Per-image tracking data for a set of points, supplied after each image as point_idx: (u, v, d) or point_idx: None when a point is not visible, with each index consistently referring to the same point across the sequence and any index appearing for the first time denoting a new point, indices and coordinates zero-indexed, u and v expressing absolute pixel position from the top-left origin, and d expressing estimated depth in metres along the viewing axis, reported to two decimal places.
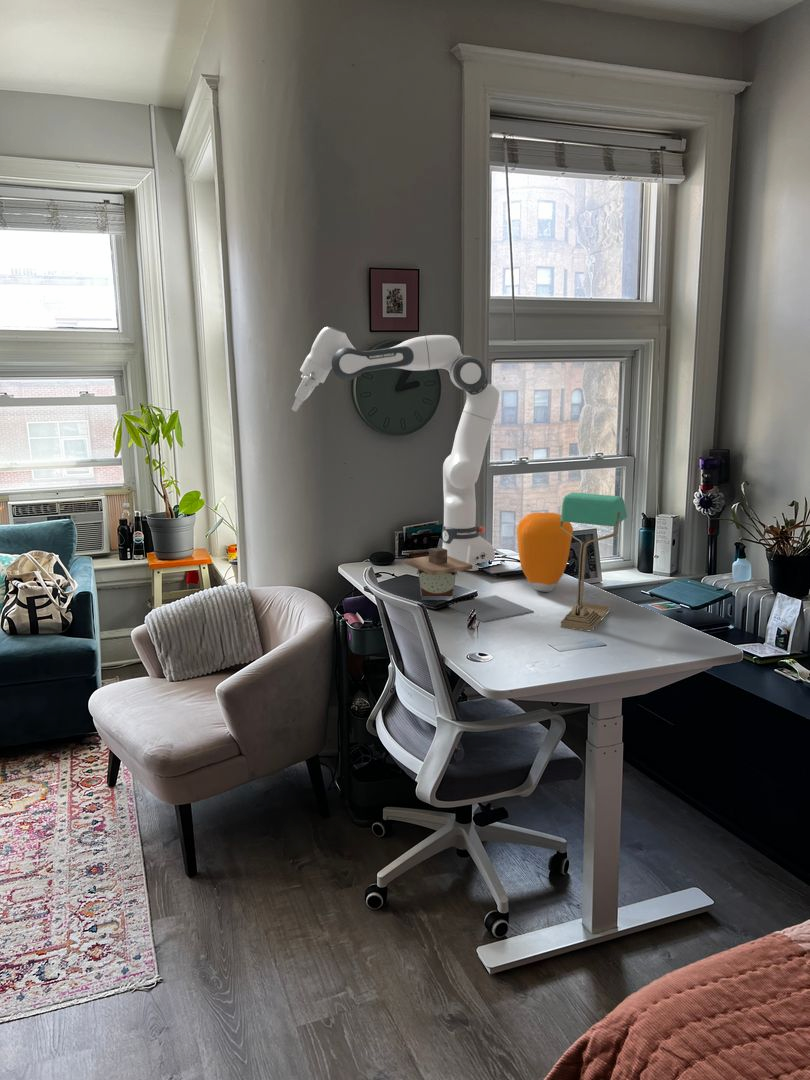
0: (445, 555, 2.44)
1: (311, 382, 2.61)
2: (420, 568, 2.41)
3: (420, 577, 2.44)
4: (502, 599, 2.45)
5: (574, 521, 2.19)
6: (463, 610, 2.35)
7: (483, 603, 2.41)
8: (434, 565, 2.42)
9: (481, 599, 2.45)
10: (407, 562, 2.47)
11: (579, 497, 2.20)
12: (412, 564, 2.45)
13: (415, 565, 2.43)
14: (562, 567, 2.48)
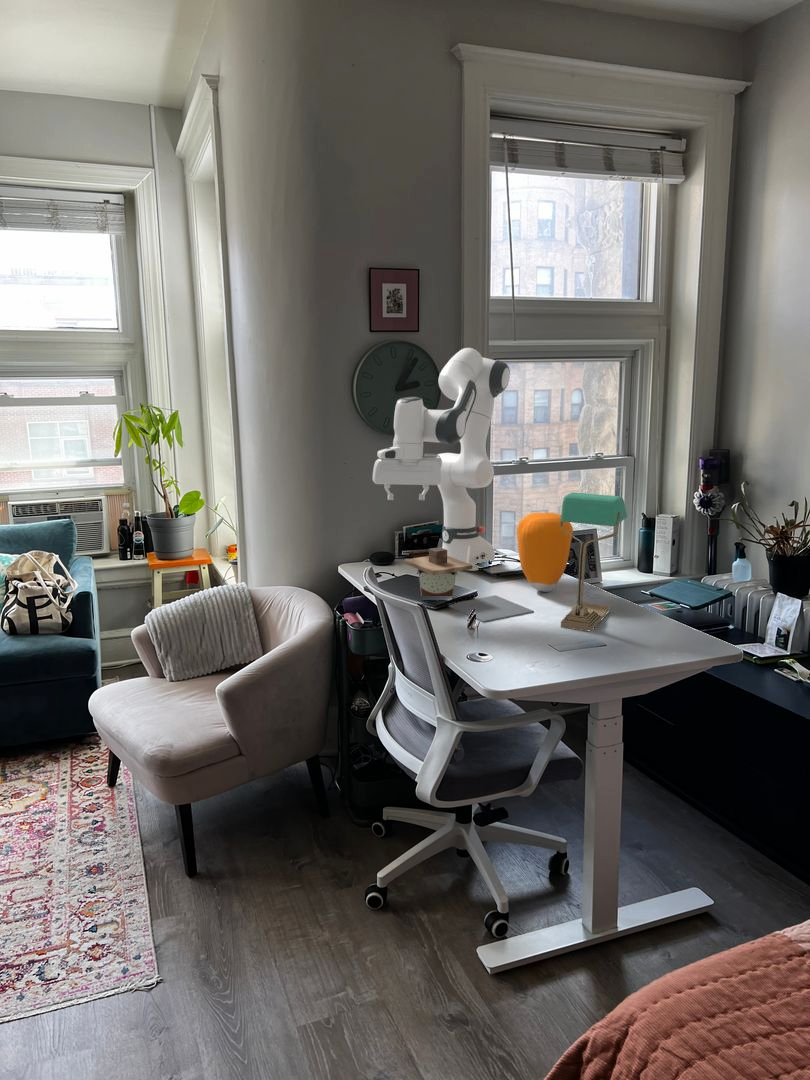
0: (445, 555, 2.44)
1: None
2: (420, 568, 2.41)
3: (420, 577, 2.44)
4: (502, 599, 2.45)
5: (574, 521, 2.19)
6: (463, 610, 2.35)
7: (483, 603, 2.41)
8: (434, 565, 2.41)
9: (481, 599, 2.45)
10: (407, 562, 2.47)
11: (579, 497, 2.20)
12: (412, 564, 2.45)
13: (415, 565, 2.43)
14: (562, 567, 2.48)
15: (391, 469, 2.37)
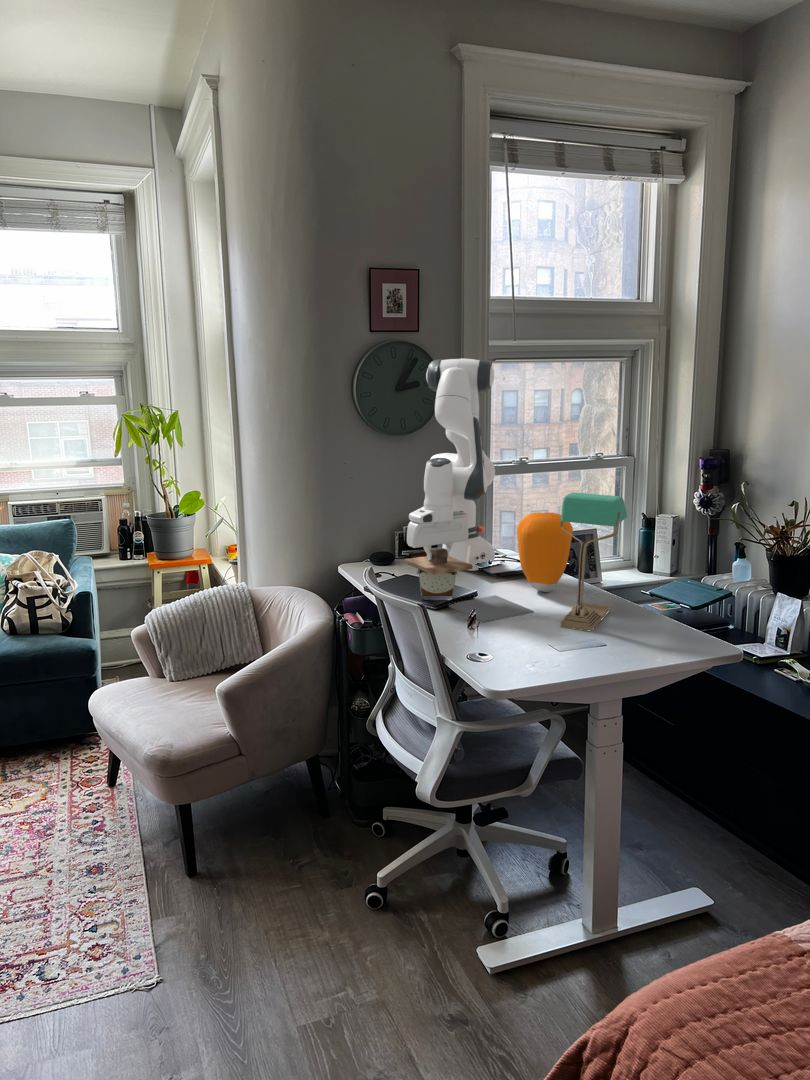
0: (445, 555, 2.44)
1: None
2: (420, 568, 2.41)
3: (420, 577, 2.44)
4: (502, 599, 2.45)
5: (574, 521, 2.19)
6: (463, 610, 2.35)
7: (483, 603, 2.41)
8: (434, 565, 2.41)
9: (481, 599, 2.45)
10: (407, 562, 2.47)
11: (579, 497, 2.20)
12: (412, 564, 2.45)
13: (415, 565, 2.43)
14: (562, 567, 2.48)
15: (426, 531, 2.39)
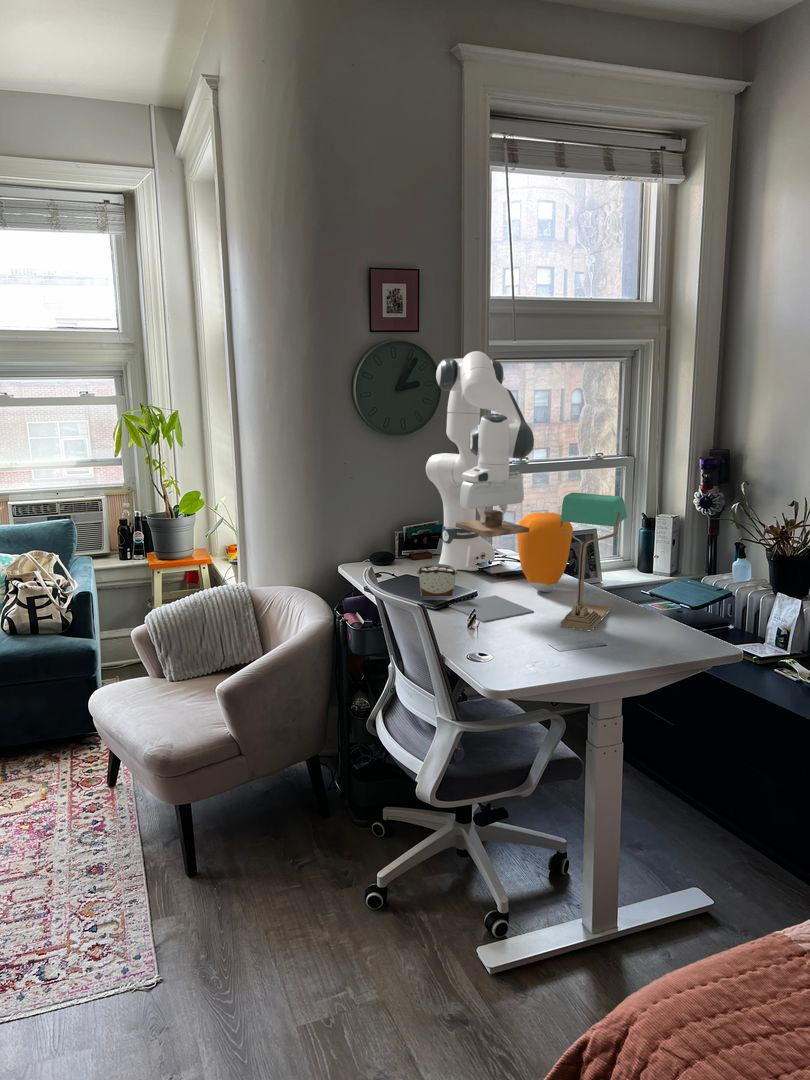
0: (500, 517, 2.30)
1: None
2: (474, 530, 2.27)
3: (420, 577, 2.44)
4: (502, 599, 2.45)
5: (574, 521, 2.19)
6: (463, 610, 2.35)
7: (483, 603, 2.41)
8: (489, 527, 2.28)
9: (481, 599, 2.45)
10: (459, 525, 2.33)
11: (579, 497, 2.20)
12: (465, 527, 2.31)
13: (468, 528, 2.29)
14: (562, 567, 2.48)
15: (481, 492, 2.26)
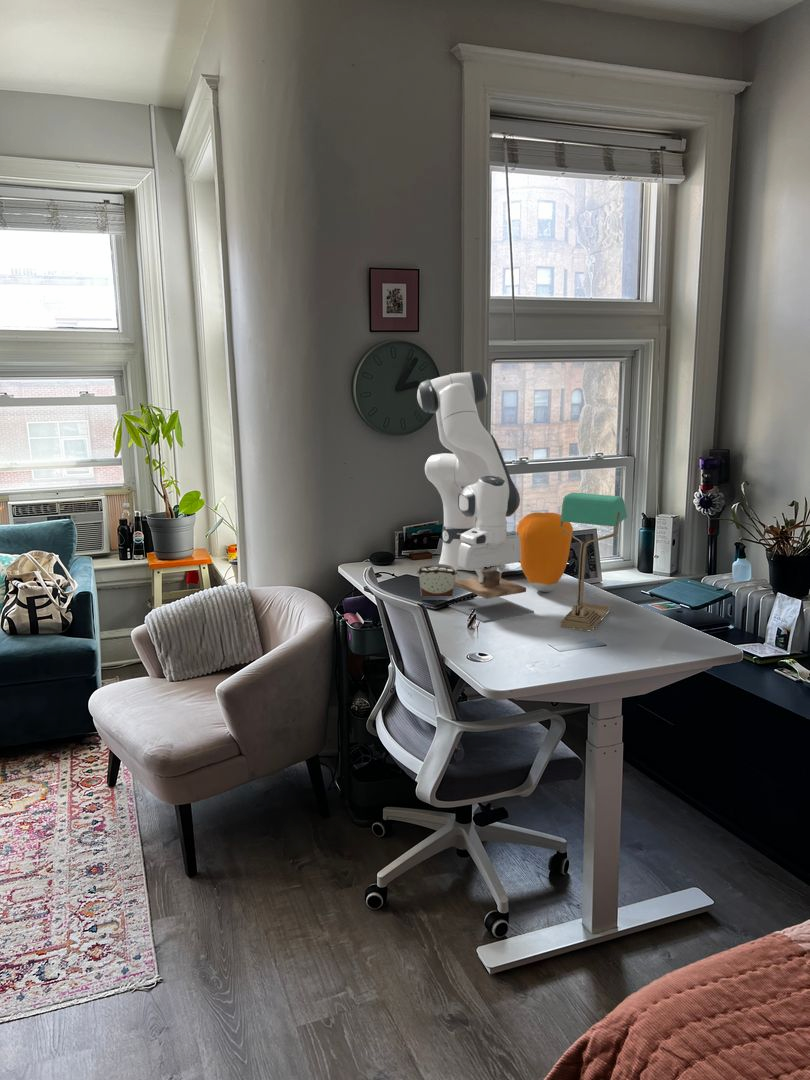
0: (497, 577, 2.34)
1: None
2: (472, 591, 2.31)
3: (420, 577, 2.44)
4: (502, 599, 2.45)
5: (574, 521, 2.19)
6: (463, 610, 2.35)
7: (483, 603, 2.41)
8: (486, 588, 2.32)
9: (481, 599, 2.45)
10: (457, 584, 2.37)
11: (579, 497, 2.20)
12: (463, 586, 2.35)
13: (466, 587, 2.33)
14: (562, 567, 2.48)
15: (479, 553, 2.29)
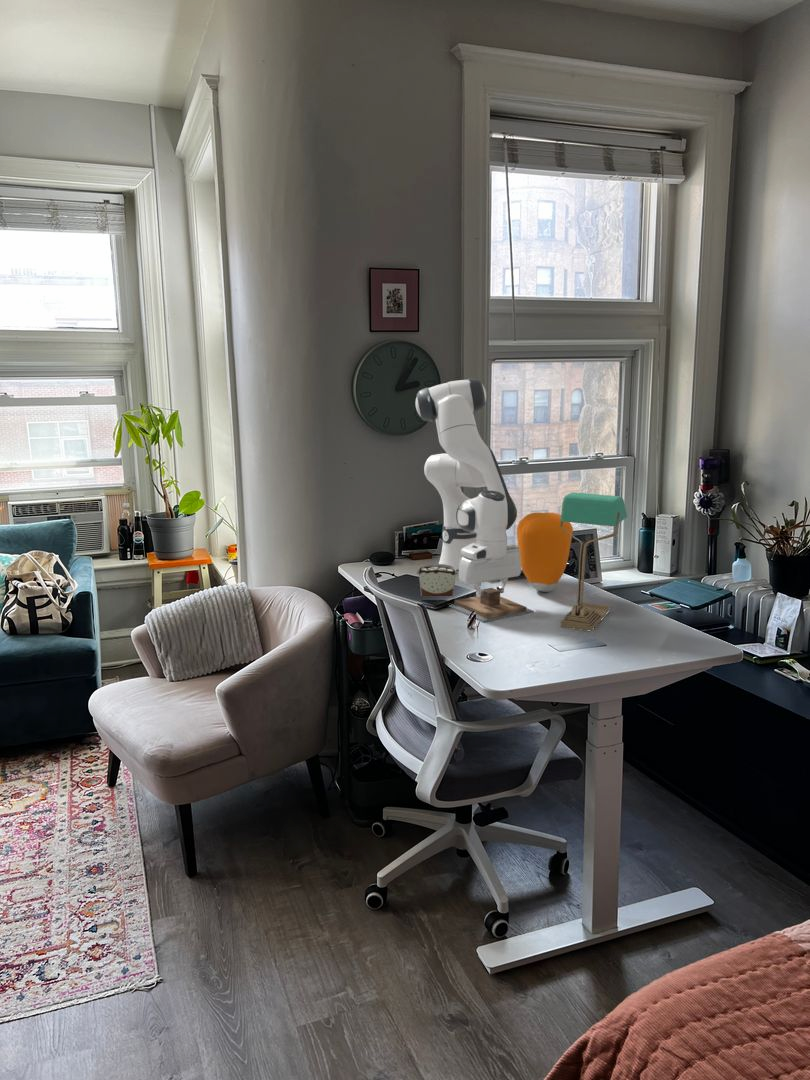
0: (498, 596, 2.35)
1: None
2: (472, 610, 2.32)
3: (420, 577, 2.44)
4: None
5: (574, 521, 2.19)
6: (463, 610, 2.35)
7: None
8: (487, 607, 2.33)
9: None
10: (458, 603, 2.39)
11: (579, 497, 2.20)
12: (463, 606, 2.36)
13: (467, 607, 2.35)
14: (562, 567, 2.48)
15: (479, 568, 2.30)
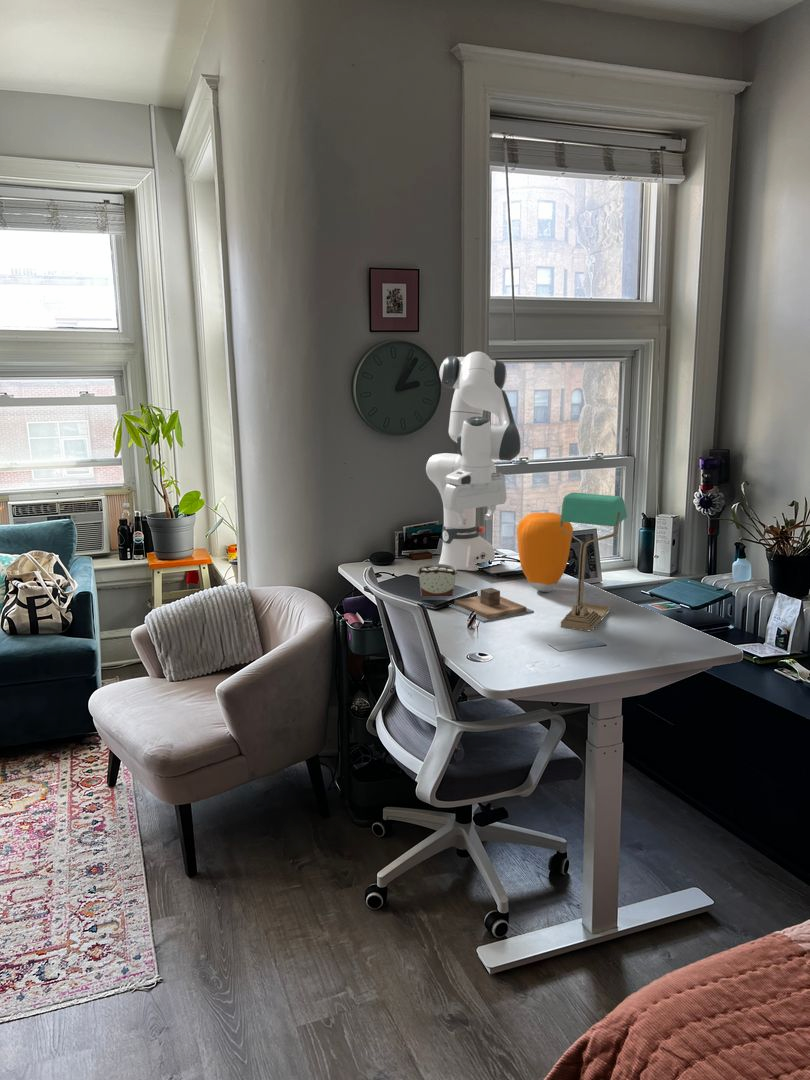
0: (498, 596, 2.35)
1: None
2: (472, 610, 2.32)
3: (420, 577, 2.44)
4: None
5: (574, 521, 2.19)
6: (463, 610, 2.35)
7: None
8: (487, 607, 2.33)
9: None
10: (458, 603, 2.39)
11: (579, 497, 2.20)
12: (463, 606, 2.36)
13: (467, 607, 2.35)
14: (562, 567, 2.48)
15: (464, 494, 2.29)
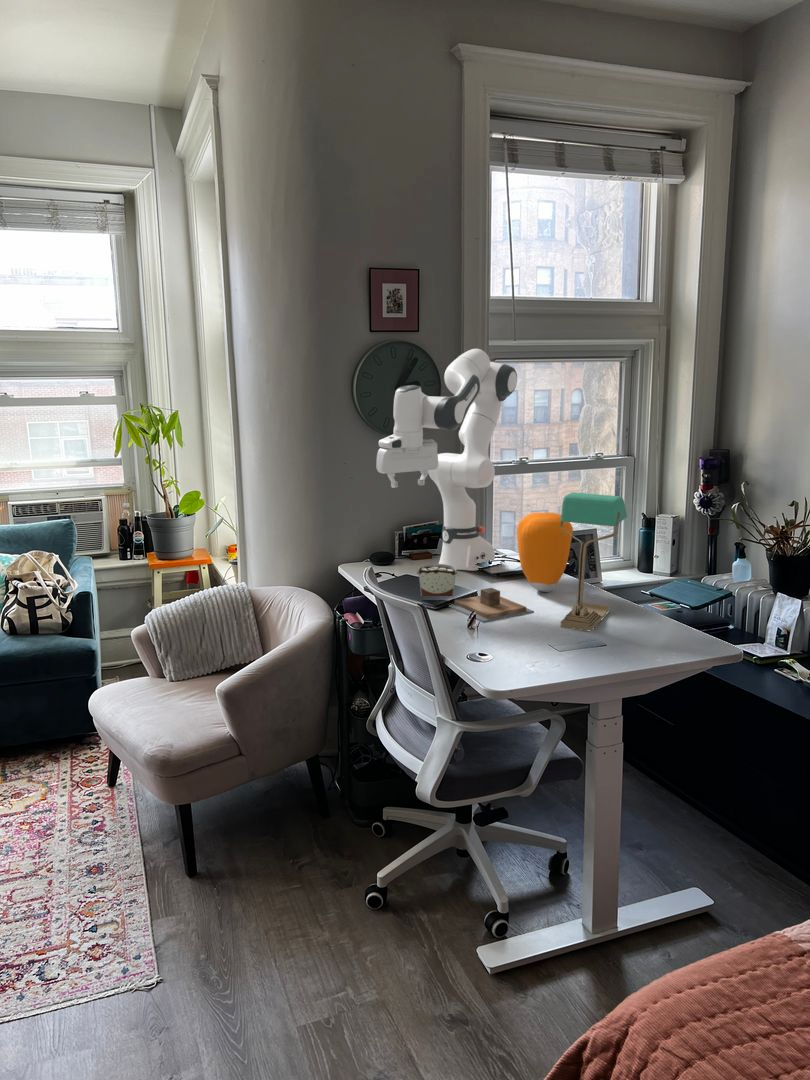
0: (498, 596, 2.35)
1: None
2: (472, 610, 2.32)
3: (420, 577, 2.44)
4: None
5: (574, 521, 2.19)
6: (463, 610, 2.35)
7: None
8: (487, 607, 2.33)
9: None
10: (458, 603, 2.39)
11: (579, 497, 2.20)
12: (463, 606, 2.36)
13: (467, 607, 2.35)
14: (562, 567, 2.48)
15: (396, 458, 2.42)
